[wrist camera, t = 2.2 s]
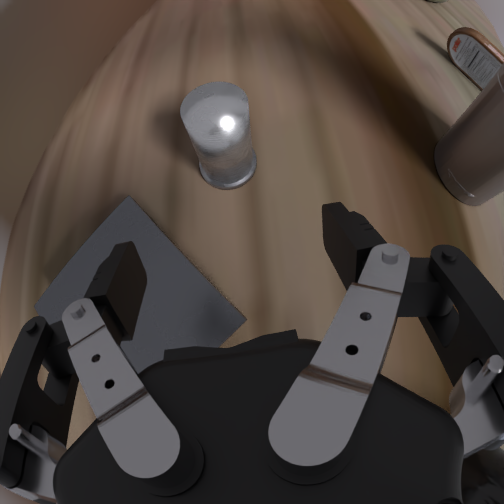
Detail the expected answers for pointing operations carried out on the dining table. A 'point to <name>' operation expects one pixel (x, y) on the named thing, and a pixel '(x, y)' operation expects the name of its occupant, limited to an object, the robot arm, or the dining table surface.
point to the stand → (148, 289)
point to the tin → (474, 55)
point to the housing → (220, 133)
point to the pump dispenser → (483, 477)
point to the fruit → (438, 1)
